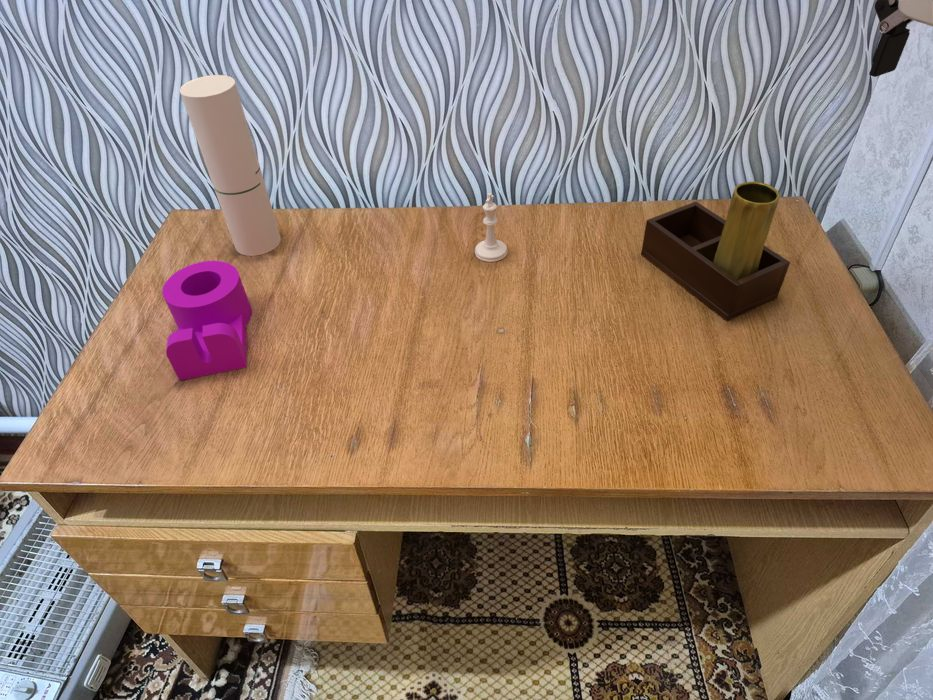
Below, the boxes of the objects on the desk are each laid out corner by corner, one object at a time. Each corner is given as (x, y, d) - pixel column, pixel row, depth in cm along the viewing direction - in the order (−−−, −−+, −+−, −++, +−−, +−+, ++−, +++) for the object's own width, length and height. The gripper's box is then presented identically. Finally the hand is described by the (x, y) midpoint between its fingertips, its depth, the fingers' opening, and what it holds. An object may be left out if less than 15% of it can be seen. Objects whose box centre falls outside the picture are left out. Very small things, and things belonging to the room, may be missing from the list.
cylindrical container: (286, 230, 107) (242, 74, 90) (272, 256, 102) (223, 97, 84) (244, 229, 108) (192, 75, 90) (228, 255, 103) (170, 97, 85)
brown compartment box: (688, 235, 101) (696, 201, 96) (777, 298, 89) (790, 262, 85) (640, 254, 98) (646, 219, 94) (726, 321, 86) (737, 285, 82)
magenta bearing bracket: (181, 303, 95) (165, 268, 90) (251, 290, 96) (239, 255, 92) (173, 381, 83) (154, 346, 79) (252, 366, 85) (238, 330, 80)
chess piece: (469, 257, 99) (465, 199, 92) (483, 239, 102) (481, 182, 95) (498, 265, 97) (497, 206, 90) (512, 247, 101) (512, 189, 94)
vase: (743, 305, 87) (773, 211, 77) (699, 288, 90) (722, 196, 80) (760, 280, 90) (791, 188, 80) (717, 265, 93) (741, 174, 83)
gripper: (1170, -115, 48) (1040, 112, 60) (946, -142, 59) (874, 53, 71) (1111, -99, 46) (988, 133, 58) (890, -131, 57) (824, 69, 69)
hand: (925, 89), depth 65 cm, fingers open, 9 cm apart
